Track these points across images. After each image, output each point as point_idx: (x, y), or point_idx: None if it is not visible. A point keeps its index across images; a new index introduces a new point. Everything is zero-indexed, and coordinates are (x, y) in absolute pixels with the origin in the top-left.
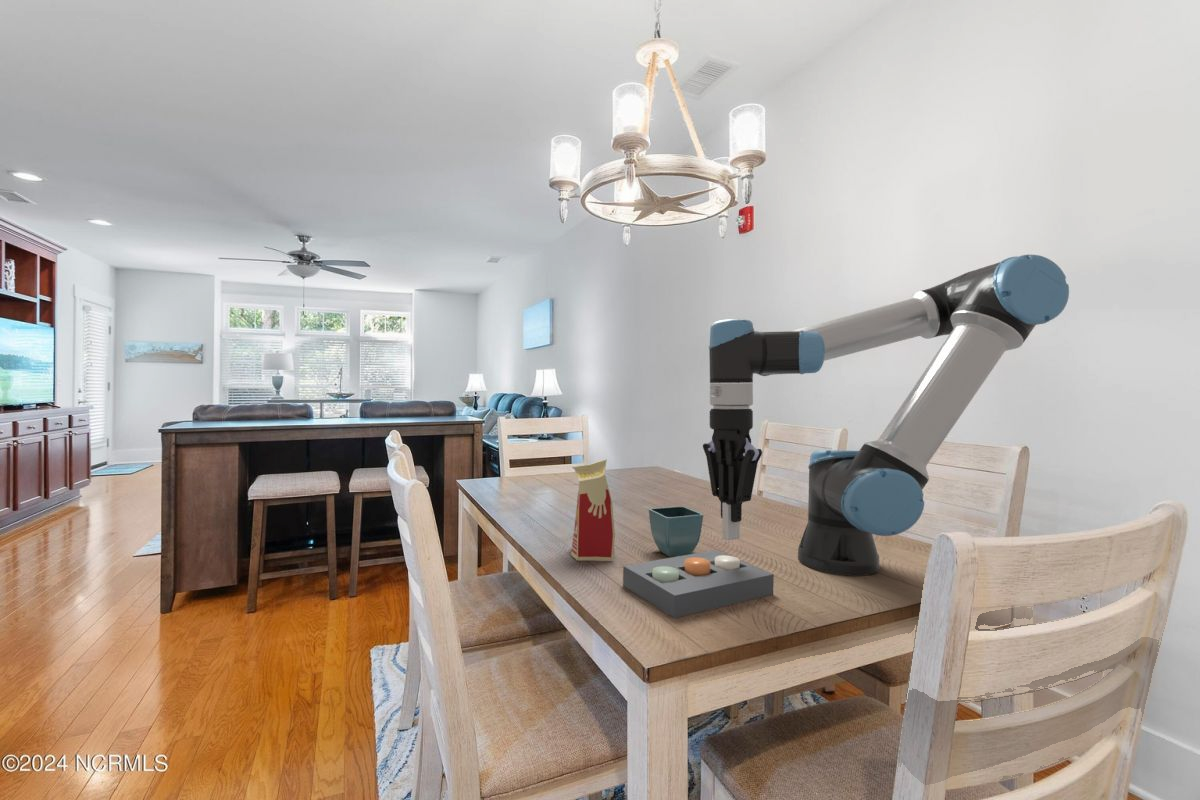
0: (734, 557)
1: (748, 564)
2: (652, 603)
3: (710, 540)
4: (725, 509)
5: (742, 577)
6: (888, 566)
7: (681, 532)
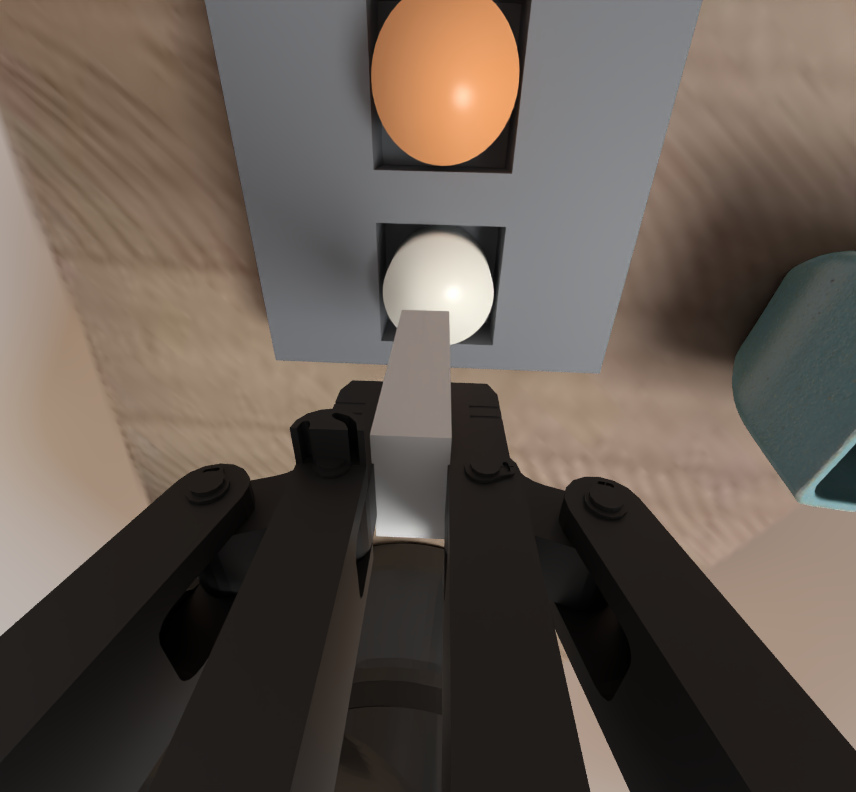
0: None
1: None
2: None
3: (769, 510)
4: (409, 402)
5: (278, 224)
6: None
7: (823, 342)
